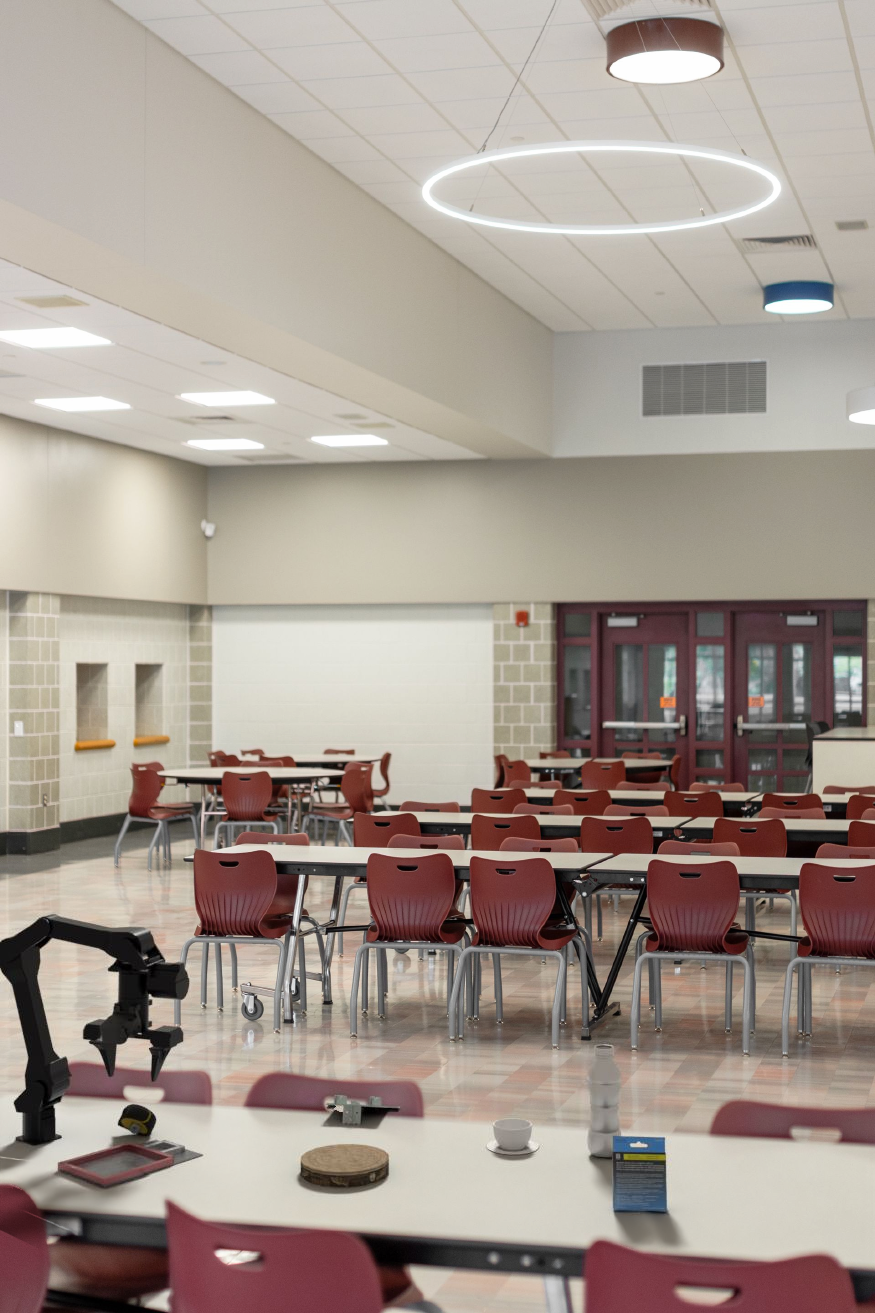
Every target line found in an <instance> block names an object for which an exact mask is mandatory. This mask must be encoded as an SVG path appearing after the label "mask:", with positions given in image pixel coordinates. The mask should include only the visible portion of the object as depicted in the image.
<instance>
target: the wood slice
mask: <svg viewBox="0 0 875 1313" xmlns="http://www.w3.org/2000/svg"><path fill="white" fill-rule="evenodd" d="M389 1158H390V1155H389V1153H388V1152H387V1151H385V1150H384V1149H382V1148H380V1147H376V1146H371V1145H368V1144H358V1143H356V1144H355V1143H342V1144H341V1143H339V1144H329V1145H324V1146H319V1147H315V1148H313V1149H311V1150H308V1151H306V1152H305V1153H303V1154H302V1155H301V1156H300V1177H301V1178H302V1180H303V1181H305V1182H306V1183H309V1184H311V1185H313V1186H318V1187H323V1188H330V1189H331V1188H332V1189H353V1188H362V1187H367V1186H370V1185H374V1184H377V1183H379V1182H381V1181H384V1180H385V1179H386V1178H388V1176H389V1174H390V1159H389Z"/></svg>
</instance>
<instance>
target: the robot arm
mask: <svg viewBox="0 0 875 1313" xmlns="http://www.w3.org/2000/svg"><path fill="white" fill-rule="evenodd" d="M52 939H53V940H59V941H62V942H67V943H72V944H76V945H81V946H85V947H88V948H89V947H90V948H94V949H99V950H100V951H102V952H104V953H106V955H107V956H109V957H111V958H113V959H115V961H114V963H112V965H111V964H110V966H109V967H108V968H107V971H108V972H109V973H111V972H112V973H118V978H117V979H118V980H117V981H118V986H117V990H118V991H117V1002H115V1003H114V1004H113V1007H112V1008H113V1011H112V1014H111V1015H109V1016H107V1018H106V1019H103V1018H98V1019H96V1020H93V1021H90V1022H87V1023H86V1024H85V1025H84V1026H83V1029H82V1040H86V1041H88V1044H90V1045H92V1046H94V1048H96V1049H97V1050H98V1052H99V1054H100V1056H101V1058H102V1061H103V1064H104V1067H105V1070H106V1072H107V1077H109V1078H113V1076H114V1075H115V1069H116V1058H117V1049H118V1048H117V1047H118V1045H119V1046H120V1045H124V1044H125V1043H126V1042H127V1041H128V1039H136V1040H137V1039H138V1040H147V1041H148V1040H149V1043H150V1044H151V1047H149V1048H148V1050H149V1052H150V1054H151V1062H150V1063H151V1065H150V1066H151V1067H150V1079H151V1080H150V1081H151V1083H154V1082H157V1080H158V1077H159V1075H160V1074H161V1073H160V1072H161V1070H162V1068H163V1065H164V1063H165V1062H166V1059H167V1057H168V1055H169V1053H170V1051H171V1050H172V1049H173V1048H174V1047H177V1046H178V1045H179V1044H181V1043H184V1031H183V1030H182V1028H181V1026H174V1025H162V1026H160V1027H157V1028H155V1029H149V1028H151V1027H153V1020H149V1016H150V1014H149V1012H150V1009H149V1008H150V1006H152V1005H153V999H151V998H150V996H151V997H152V998H155V999H166V1000H175V1001H176V1000H179V1001H182V1000H184V999H185V998H186V996H187V995H188V992H189V989H190V978H189V974H188V971H187V970H186V969H185V963H184V962H181V961H178V962H166V958H165V956H164V955H163V954H162V952H161V951H160V949H159V947H158V946H157V944H156V943H155V938H154V936H153V934H152V932H151V930H150V929H148V928H146V927H143V926H122V927H121V926H119V927H112V926H111V927H109V926H105V925H99V924H95V923H91V922H87V921H81V920H77V919H72V918H67V917H65V916H60V915H58V914H55V913H51V914H48V915H45V916H41V917H38V918H37V919H36V920H35V921H34V922H33V923H32V924H30V925H29V926H28V927H25V928H24V929H23V930H21V931H20V932H17V933H16V934H14V935H13V936H9V937H6V938H3V939H1V941H0V971H1V974H2V975H3V976H4V977H5V978H6V980H7V981H8V982H9V983H10V985H11V988H12V991H13V992H12V993H13V996H14V1001H15V1005H16V1010H17V1014H18V1019H19V1024H20V1027H21V1031H22V1036H23V1040H24V1041H23V1042H24V1045H25V1049H26V1050H25V1051H26V1054H27V1061H26V1062H27V1063H26V1067H25V1071H24V1086H25V1089H24V1090H22V1092H21V1093H20V1094H19V1095H18V1097H16V1098H15V1099H14V1101H13V1106H14V1109H15V1112H16V1113H19V1114H20V1113H21V1114H22V1116H21V1117H22V1118H21V1119H22V1123H21V1124H22V1126H21V1127H22V1132H21V1133H22V1134H21V1135H19V1136H15V1141H19V1142H20V1143H21V1142H22V1143H24V1144H27V1145H30V1146H33V1147H34V1146H35V1147H36V1146H39V1145H42V1144H46V1143H49V1142H52V1141H57V1140H59V1139H62V1138H63V1135H61V1134H57V1133H56V1129H57V1126H56V1124H57V1123H56V1120H57V1119H56V1107H55V1106H56V1105H57V1104H59V1103H61V1102H62V1099H63V1096H64V1094H65V1093H66V1092H68V1089H69V1088H70V1084H71V1080H70V1079H71V1078H72V1077H73V1075H72V1073H71V1072H70V1068H69V1061H68V1057H67V1056H62V1057H60V1056H59V1055H58V1054H57V1052H56V1051H55V1049H54V1047H53V1042H52V1037H51V1034H50V1029H49V1024H48V1021H47V1020H48V1018H47V1016H46V1010H45V1006H44V1002H43V998H42V993H41V989H40V984H39V980H38V979H39V978H38V975H39V970H40V967H41V966H40V965H41V959H42V958H41V949H42V948H44V947H45V946H47V945H48V944H49V943H50V942H51V940H52ZM146 957H147V958H146Z"/></svg>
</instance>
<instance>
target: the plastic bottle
mask: <svg viewBox="0 0 875 1313" xmlns="http://www.w3.org/2000/svg"><path fill="white" fill-rule="evenodd" d="M614 1051H615V1049H614V1046H613V1045H611V1044H596V1045H595V1046H594V1050H593V1058H595V1060H593V1062H592V1063H591V1065H590V1067H589V1069H588V1070H587V1075H586V1077H587V1086H588V1092H589V1105H590V1107H589V1108H590V1114H589V1127H588V1131H587V1139H586V1140H587V1141H586V1143H587V1149H588V1151H589V1153H590V1154H591V1155H592V1156H595V1157H599V1158H612V1151H613V1136H622V1132H621V1127H620V1126H621V1125H620V1117H619V1116H620V1115H619V1114H620V1113H619V1108H620V1107H619V1105H620V1095H621V1094H620V1092H621V1085H622V1072H621V1070H620V1068H619V1067H618V1065H617V1064H616V1062H615V1061H614V1058H615V1053H614Z"/></svg>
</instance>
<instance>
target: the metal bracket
mask: <svg viewBox="0 0 875 1313" xmlns="http://www.w3.org/2000/svg"><path fill="white" fill-rule="evenodd" d="M347 1102H348V1096H347V1095H343V1094H340V1095H339V1094H337V1095H336V1094H335V1095H334V1097H333V1102H331V1103H330V1102H329V1103H328V1102H326V1103H325V1105H327V1106H339V1107H342V1106H343V1108H342V1109H343V1110H342V1125H343V1124H346V1125H347V1124H348V1125H361V1120H362V1119H361V1118H362V1107H363V1108H364V1107H366V1108H367V1107H368V1108H382V1109H383V1108H385V1109H387V1108H388V1109H390V1108H391V1109H401V1106H399V1105H397V1106H396V1105H382V1096H370V1097H369V1104H360V1102H359V1101H356V1100H354V1099H351V1100H350V1103H347Z"/></svg>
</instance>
